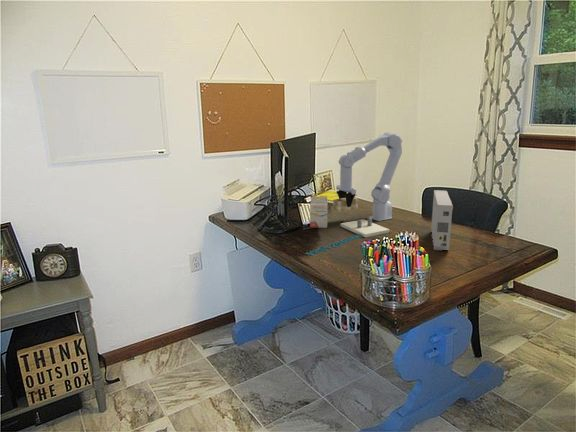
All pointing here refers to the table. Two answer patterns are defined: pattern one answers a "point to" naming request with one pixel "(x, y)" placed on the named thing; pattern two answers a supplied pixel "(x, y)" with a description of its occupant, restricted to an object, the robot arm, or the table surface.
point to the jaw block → (344, 204)
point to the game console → (441, 220)
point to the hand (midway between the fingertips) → (345, 205)
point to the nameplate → (334, 244)
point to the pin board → (365, 228)
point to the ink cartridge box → (318, 212)
